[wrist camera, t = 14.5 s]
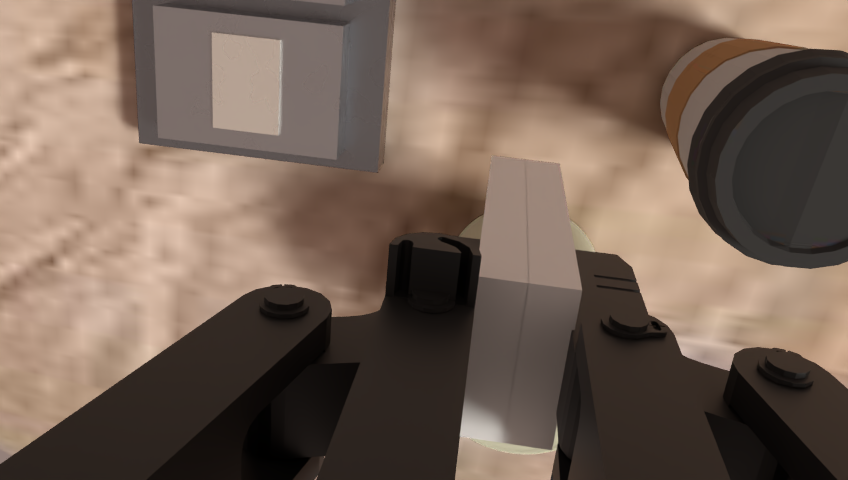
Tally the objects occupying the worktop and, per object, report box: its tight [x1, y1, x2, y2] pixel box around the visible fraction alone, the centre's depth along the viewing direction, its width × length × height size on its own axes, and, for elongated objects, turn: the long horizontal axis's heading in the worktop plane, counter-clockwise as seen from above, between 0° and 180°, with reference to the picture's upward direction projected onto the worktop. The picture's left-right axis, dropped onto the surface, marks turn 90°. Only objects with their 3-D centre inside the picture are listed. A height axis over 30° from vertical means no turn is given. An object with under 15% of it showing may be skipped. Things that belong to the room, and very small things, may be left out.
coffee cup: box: [660, 38, 848, 269], centre depth 34 cm, size 8×8×15 cm
